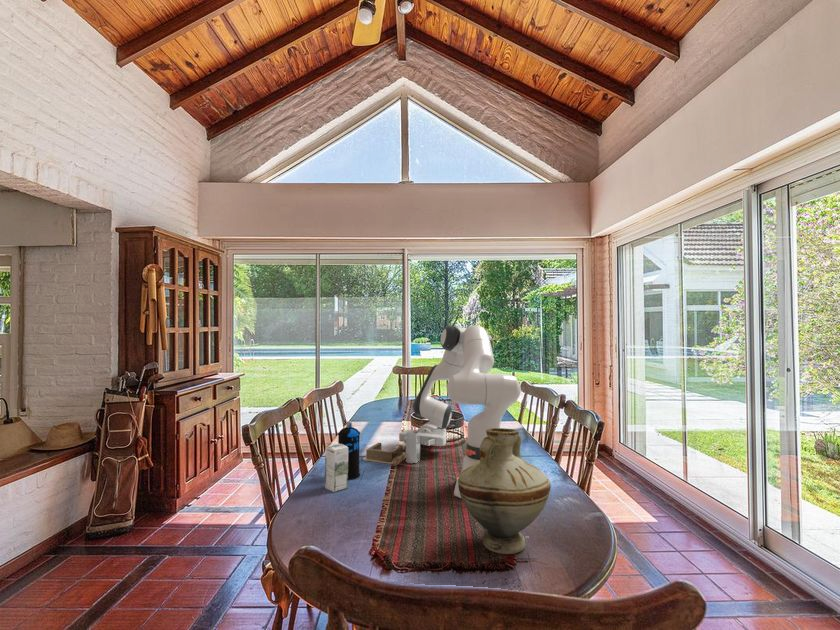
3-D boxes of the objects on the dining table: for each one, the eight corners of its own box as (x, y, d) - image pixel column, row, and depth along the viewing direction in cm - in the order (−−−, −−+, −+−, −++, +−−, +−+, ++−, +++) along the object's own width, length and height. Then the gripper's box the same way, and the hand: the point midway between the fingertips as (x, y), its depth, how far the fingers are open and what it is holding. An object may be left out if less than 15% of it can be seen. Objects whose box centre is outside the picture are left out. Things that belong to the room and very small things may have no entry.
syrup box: (338, 483, 159) (338, 442, 159) (348, 488, 155) (348, 446, 155) (324, 488, 155) (324, 445, 155) (334, 493, 151) (334, 449, 151)
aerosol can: (332, 476, 167) (333, 421, 167) (350, 470, 173) (350, 418, 173) (346, 481, 161) (347, 425, 161) (364, 475, 168) (364, 421, 168)
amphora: (538, 527, 129) (531, 420, 132) (569, 565, 105) (559, 433, 108) (456, 533, 128) (450, 424, 131) (468, 572, 105) (460, 439, 107)
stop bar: (416, 463, 181) (416, 433, 181) (405, 462, 183) (406, 432, 183) (420, 460, 185) (420, 431, 185) (410, 459, 187) (410, 430, 187)
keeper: (393, 464, 181) (393, 453, 181) (362, 460, 186) (362, 450, 186) (406, 454, 194) (406, 444, 194) (377, 450, 199) (377, 441, 199)
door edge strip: (395, 466, 178) (395, 461, 178) (393, 466, 179) (393, 460, 179) (410, 454, 193) (410, 450, 193) (408, 454, 193) (408, 449, 193)
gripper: (405, 425, 204) (393, 432, 191) (449, 429, 197) (439, 437, 184) (405, 439, 204) (393, 447, 191) (449, 443, 197) (439, 452, 184)
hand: (416, 442), depth 187 cm, fingers open, 8 cm apart
